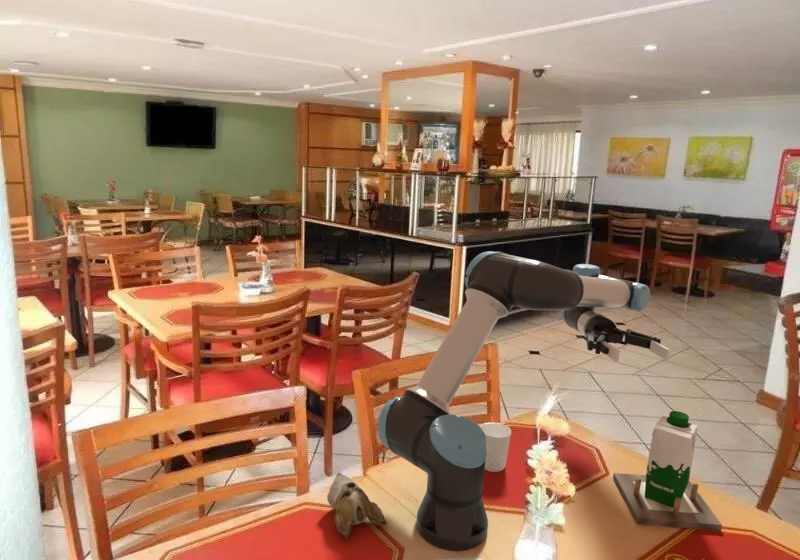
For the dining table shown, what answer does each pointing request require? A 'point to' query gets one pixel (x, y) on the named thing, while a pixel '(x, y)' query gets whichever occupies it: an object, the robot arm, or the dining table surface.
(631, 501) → the pin base plate
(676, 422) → the soya milk
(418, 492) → the dining table surface
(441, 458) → the robot arm
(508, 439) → the white cup
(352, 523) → the ceramic sculpture
